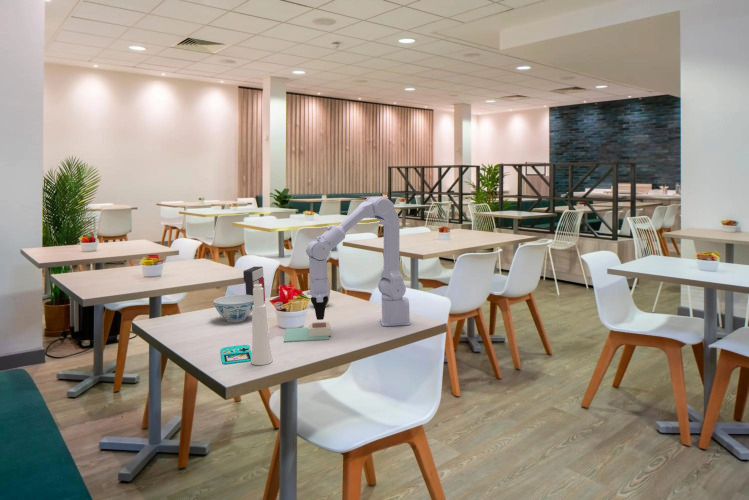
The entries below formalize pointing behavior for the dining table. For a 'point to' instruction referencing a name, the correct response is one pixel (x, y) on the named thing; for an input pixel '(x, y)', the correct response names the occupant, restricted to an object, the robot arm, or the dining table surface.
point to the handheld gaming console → (235, 354)
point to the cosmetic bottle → (260, 329)
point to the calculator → (253, 279)
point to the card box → (319, 329)
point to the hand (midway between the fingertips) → (320, 319)
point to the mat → (301, 335)
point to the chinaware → (234, 307)
